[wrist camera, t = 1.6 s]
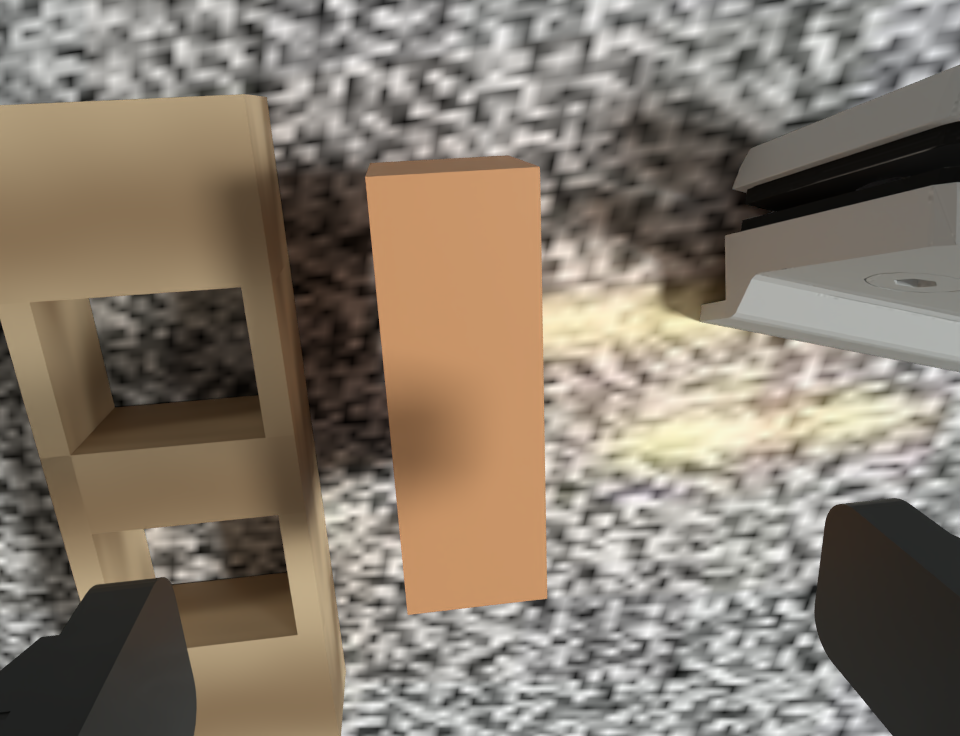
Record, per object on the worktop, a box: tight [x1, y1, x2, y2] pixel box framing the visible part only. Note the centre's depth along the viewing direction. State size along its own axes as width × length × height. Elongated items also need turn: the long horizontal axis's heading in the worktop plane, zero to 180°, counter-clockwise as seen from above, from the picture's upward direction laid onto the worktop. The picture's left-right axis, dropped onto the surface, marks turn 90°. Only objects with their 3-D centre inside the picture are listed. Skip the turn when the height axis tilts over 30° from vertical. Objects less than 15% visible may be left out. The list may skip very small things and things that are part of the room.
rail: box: [0, 94, 346, 736], centre depth 19 cm, size 18×6×3 cm, turn 3°
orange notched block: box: [365, 156, 547, 615], centre depth 17 cm, size 9×3×7 cm, turn 3°
